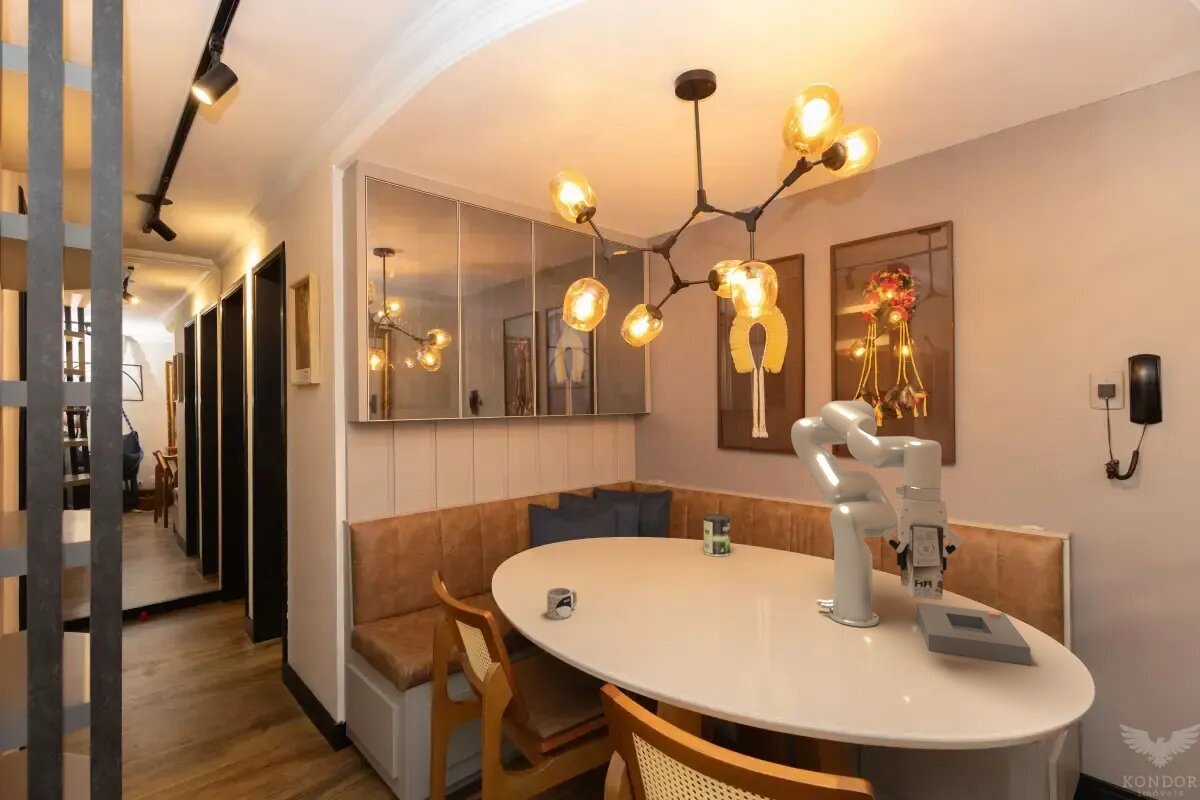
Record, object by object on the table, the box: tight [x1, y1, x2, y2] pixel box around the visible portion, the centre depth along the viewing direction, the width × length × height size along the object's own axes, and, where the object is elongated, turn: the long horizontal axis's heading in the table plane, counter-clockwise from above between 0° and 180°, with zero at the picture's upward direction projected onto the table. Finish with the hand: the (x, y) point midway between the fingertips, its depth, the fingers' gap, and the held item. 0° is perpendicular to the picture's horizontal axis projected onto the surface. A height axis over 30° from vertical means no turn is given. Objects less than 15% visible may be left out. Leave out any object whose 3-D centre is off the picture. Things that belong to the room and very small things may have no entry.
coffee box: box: [900, 525, 944, 601], centre depth 131 cm, size 9×6×16 cm
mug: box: [546, 587, 578, 621], centre depth 161 cm, size 10×7×7 cm
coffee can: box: [702, 513, 731, 558], centre depth 221 cm, size 10×10×14 cm
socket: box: [916, 602, 1031, 666], centre depth 142 cm, size 20×22×5 cm
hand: (921, 570), depth 131 cm, fingers closed on coffee box, 7 cm apart
